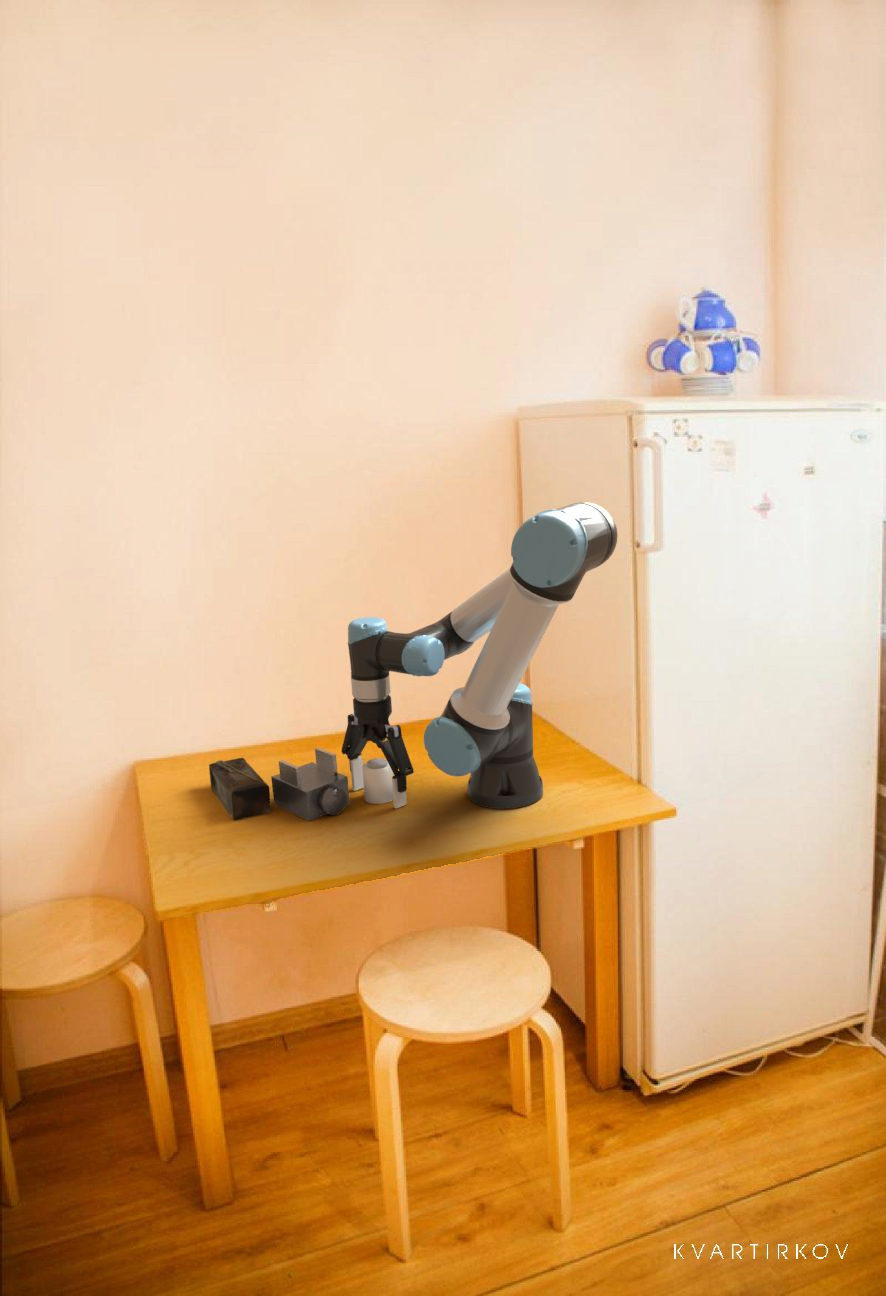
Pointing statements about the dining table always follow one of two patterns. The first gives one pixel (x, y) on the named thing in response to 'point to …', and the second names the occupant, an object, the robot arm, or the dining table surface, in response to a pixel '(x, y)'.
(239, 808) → the beverage carton
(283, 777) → the motor
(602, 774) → the dining table surface
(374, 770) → the white cylindrical container
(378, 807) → the dining table surface
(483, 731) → the robot arm
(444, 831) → the dining table surface
